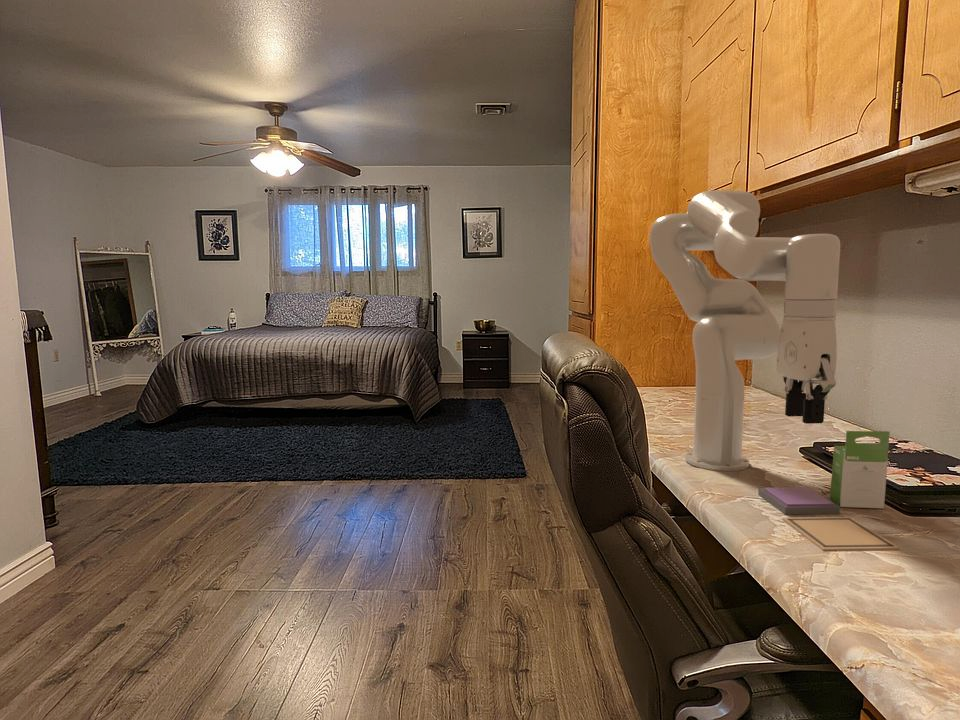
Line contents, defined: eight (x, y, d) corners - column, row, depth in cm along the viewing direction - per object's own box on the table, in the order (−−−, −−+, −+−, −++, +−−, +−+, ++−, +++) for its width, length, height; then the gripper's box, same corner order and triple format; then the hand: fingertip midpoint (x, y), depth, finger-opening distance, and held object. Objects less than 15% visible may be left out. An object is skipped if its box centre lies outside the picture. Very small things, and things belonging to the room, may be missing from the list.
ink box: (872, 501, 100) (878, 425, 98) (884, 510, 96) (891, 431, 95) (829, 499, 101) (834, 424, 100) (839, 508, 97) (845, 430, 96)
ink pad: (758, 494, 104) (758, 486, 104) (808, 493, 104) (808, 486, 104) (784, 514, 95) (785, 505, 95) (839, 513, 95) (840, 505, 95)
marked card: (782, 519, 93) (782, 517, 93) (850, 518, 93) (850, 516, 93) (822, 550, 82) (823, 548, 82) (899, 549, 82) (900, 547, 82)
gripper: (761, 309, 103) (757, 409, 105) (817, 313, 87) (810, 432, 89) (803, 308, 103) (798, 408, 106) (866, 312, 87) (858, 431, 89)
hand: (803, 418), depth 97 cm, fingers open, 4 cm apart
